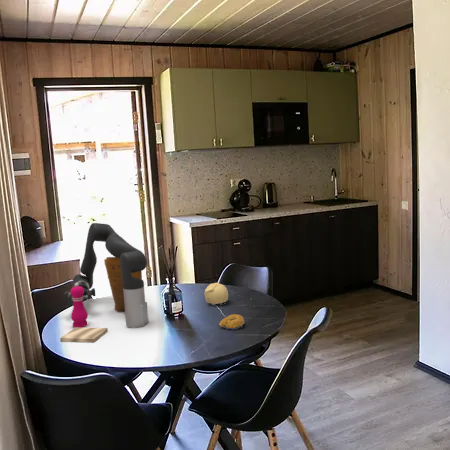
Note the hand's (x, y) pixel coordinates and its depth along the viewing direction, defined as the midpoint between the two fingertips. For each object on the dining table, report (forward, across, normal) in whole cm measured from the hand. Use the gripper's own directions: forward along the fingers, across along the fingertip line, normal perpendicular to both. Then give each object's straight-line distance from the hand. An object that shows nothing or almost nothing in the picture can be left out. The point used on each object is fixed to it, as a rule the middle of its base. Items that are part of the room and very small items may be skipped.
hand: (79, 297), depth 224 cm
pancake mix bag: (-6, +22, +11) cm, 25 cm away
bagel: (+35, +64, +12) cm, 74 cm away
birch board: (+24, +3, +11) cm, 26 cm away
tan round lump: (-1, +66, +11) cm, 67 cm away
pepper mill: (+8, 0, +11) cm, 14 cm away
